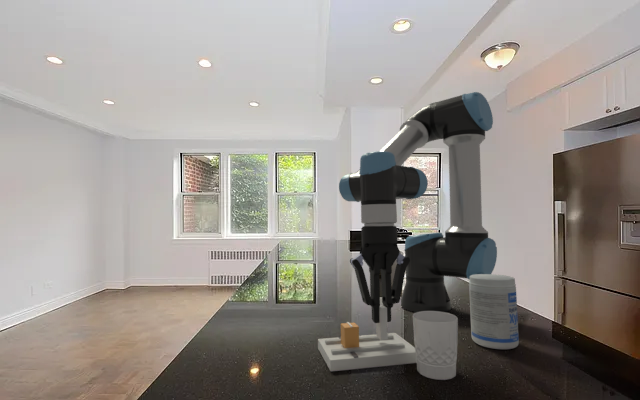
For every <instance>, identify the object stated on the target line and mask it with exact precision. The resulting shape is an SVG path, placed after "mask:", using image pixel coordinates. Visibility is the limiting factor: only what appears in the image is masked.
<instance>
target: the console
mask: <svg viewBox="0 0 640 400" xmlns="http://www.w3.org/2000/svg"><path fill="white" fill-rule="evenodd" d="M317 349H318V351H319V353H320V355H321V356H322V359H323V360H324V362H325V365H326V366H327V367H328V369H329V371H330V372H338V371H349V370H359V369H370V368H378V367H379V368H380V367H388V366H397V365H398V366H400V365H407V364H408V365H409V364H417V356H416V353H415V346H414V345H412V344H411V343H410V342H408V341H407V340H406V339H404V338H403V337H402V336H400V335H399V334H398V333H396V332H388V340H380V339H379V338H378V337H377V336H376V333H375V334H362V335H359V347H353V348H344V346H343V345H342V344H341V335H340V336H337V337H327V338H326V337H325V338H318V339H317Z"/></svg>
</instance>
